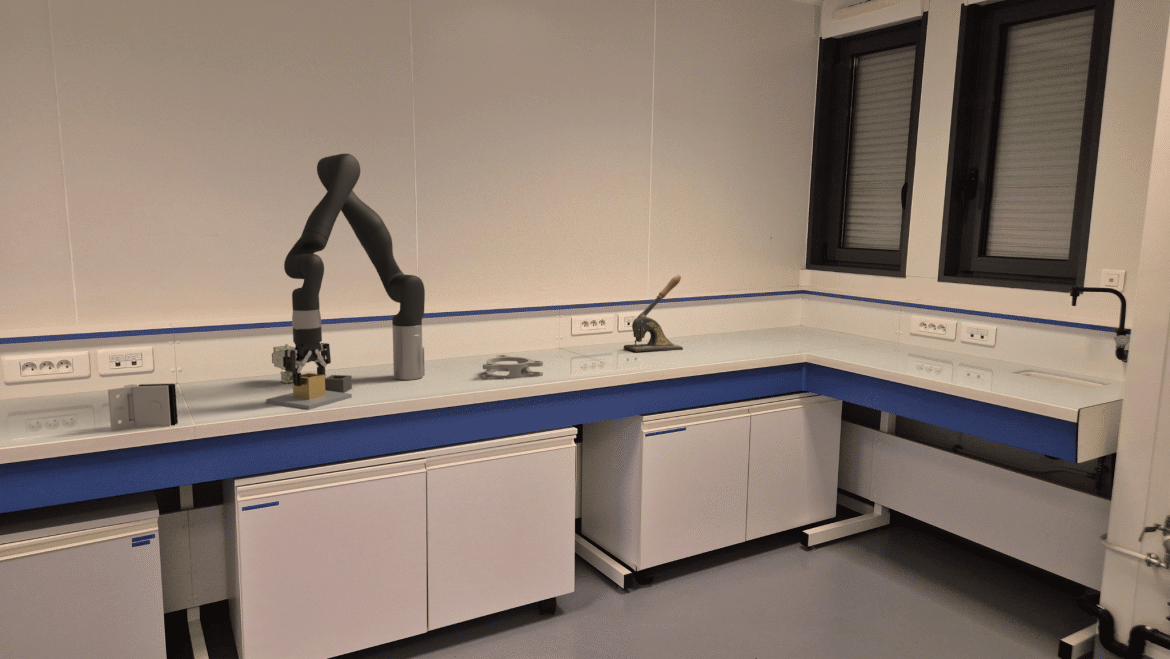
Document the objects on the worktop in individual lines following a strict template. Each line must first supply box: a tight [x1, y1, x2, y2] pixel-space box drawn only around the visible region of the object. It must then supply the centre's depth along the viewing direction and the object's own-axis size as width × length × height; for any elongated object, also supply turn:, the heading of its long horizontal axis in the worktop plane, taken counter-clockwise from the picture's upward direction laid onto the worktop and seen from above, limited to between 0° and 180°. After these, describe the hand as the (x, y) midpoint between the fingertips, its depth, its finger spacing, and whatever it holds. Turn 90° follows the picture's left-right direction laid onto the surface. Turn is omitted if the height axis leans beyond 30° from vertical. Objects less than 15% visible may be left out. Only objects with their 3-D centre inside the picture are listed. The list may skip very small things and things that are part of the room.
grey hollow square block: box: [325, 374, 353, 393], centre depth 224 cm, size 6×6×4 cm
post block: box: [265, 390, 353, 410], centre depth 211 cm, size 16×16×6 cm
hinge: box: [107, 382, 179, 432], centre depth 183 cm, size 14×5×10 cm, turn 113°
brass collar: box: [292, 372, 326, 400], centre depth 211 cm, size 6×6×6 cm
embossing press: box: [623, 274, 684, 353], centre depth 302 cm, size 11×24×30 cm, turn 113°
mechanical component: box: [482, 354, 544, 380], centre depth 253 cm, size 20×19×5 cm
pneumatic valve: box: [271, 343, 301, 384], centre depth 234 cm, size 6×12×12 cm, turn 45°
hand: (309, 382), depth 211 cm, fingers open, 8 cm apart
